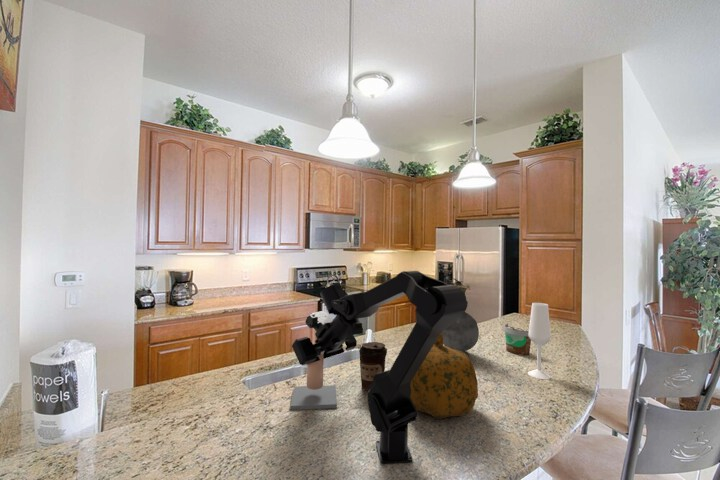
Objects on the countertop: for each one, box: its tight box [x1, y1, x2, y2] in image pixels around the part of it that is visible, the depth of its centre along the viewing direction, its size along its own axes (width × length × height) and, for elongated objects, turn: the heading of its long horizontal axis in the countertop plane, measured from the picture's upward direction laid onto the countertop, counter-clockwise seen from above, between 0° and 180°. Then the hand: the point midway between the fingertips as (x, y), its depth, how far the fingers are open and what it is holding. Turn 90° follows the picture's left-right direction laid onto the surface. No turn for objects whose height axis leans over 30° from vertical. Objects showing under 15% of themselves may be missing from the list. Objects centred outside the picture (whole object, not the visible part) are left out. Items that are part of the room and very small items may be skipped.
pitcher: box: [441, 277, 480, 356], centre depth 127 cm, size 11×19×30 cm, turn 26°
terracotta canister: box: [306, 352, 325, 390], centre depth 87 cm, size 5×5×10 cm
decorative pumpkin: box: [410, 333, 479, 420], centre depth 84 cm, size 20×21×20 cm
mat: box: [289, 384, 338, 411], centre depth 87 cm, size 11×12×1 cm
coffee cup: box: [358, 341, 388, 393], centre depth 94 cm, size 9×8×13 cm
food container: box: [503, 323, 532, 356], centre depth 129 cm, size 12×6×10 cm, turn 25°
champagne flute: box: [527, 302, 552, 380], centre depth 107 cm, size 7×7×24 cm
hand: (312, 360), depth 88 cm, fingers closed on terracotta canister, 4 cm apart
